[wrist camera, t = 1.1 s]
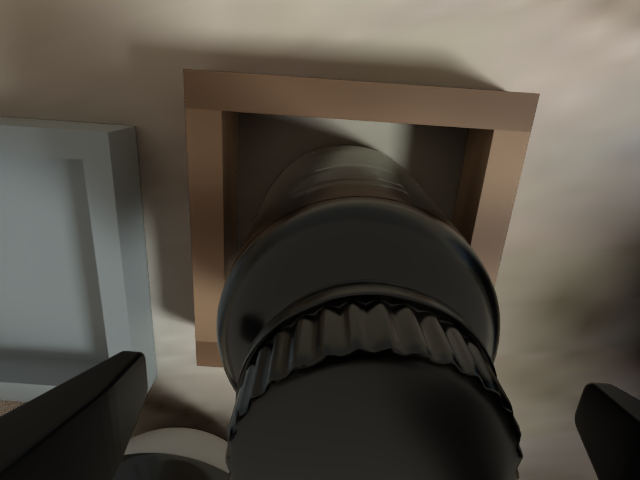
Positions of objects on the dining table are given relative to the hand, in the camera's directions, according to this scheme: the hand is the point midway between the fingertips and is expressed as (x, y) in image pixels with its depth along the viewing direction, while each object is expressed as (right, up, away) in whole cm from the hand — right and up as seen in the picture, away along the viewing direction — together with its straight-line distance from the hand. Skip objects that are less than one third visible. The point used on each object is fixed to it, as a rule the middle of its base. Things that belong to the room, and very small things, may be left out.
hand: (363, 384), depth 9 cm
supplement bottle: (0, +4, +9) cm, 10 cm away
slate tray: (-14, +2, +10) cm, 18 cm away
